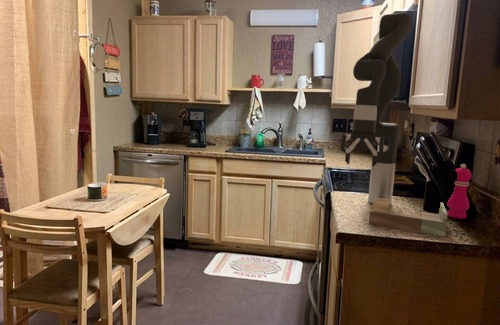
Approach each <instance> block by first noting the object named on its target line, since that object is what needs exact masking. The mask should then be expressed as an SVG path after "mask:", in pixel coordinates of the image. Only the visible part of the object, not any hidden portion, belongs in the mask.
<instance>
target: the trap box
mask: <svg viewBox="0 0 500 325" xmlns="http://www.w3.org/2000/svg"><path fill="white" fill-rule="evenodd" d="M398 210H399V211H398V212H394V211H388V213H382V212H375V211H373V209H372V210H370V212H369V218H368V225H369V226H376V227H382V228H389V229H395V230H396V229H397V230H403V231H409V232H413V233H421V234H428V235H434V236H441V237H446V232H447V224H448V222H447V221H448V214H447V213H448V210H446V208H445V206H444V203H443V202H440V208H438V213H432V212H424V211H419V212H420V213H419V215H416V214H415V215H414V214H408V213H403V209H402V208H399V209H398Z"/></svg>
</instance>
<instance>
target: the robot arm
mask: <svg viewBox="0 0 500 325" xmlns="http://www.w3.org/2000/svg"><path fill="white" fill-rule="evenodd" d="M378 26H379V27H378V40H377V41H376V42H375V43H374V44H373V45H372V47H371V48H370V50H369V51H368V52H367V53H365V54H364V55H362V57H360V58H359V59H358V60H357V61H356V62H355V64H354V66H353V69H352V71H353V72H352V73H353V77H354V79H355V80H357V81H359V82H371V83H369V85H368V86H365V87H360V88H359V89H358V90H357V91H356V97H355V107H354V112H353V120H352V121H353V123H352V133H351V134H347V133H346V134H345V133H344V134H343V135H342V138H341V145H340V151H341V152H343V153H345V159H344V162H345V163H346V165H350V163H351V162H350V161H351V152H352V151H353V150H354V148H358V149H360V148H363V149H369V150H370V152H371V153H372V156H371V164H370V166H371V167H370V179H369V189H368V195H367V197H368V199H367V202H368V203H370V204H373V201H374V198H381V199H388V200H390V201H389V206H391V205H392V199H393V190H394V182H395V181H394V180H395V171H396V170H395V169H396V162H397V161H396V160H397V152H398V151H397V150H398V145H399V139H400V133H401V132H400V125H399V124H397V123H391V122H382V118H383V115H384V113H385V112H386V109H388V107H389V106H390V104H391V103H392V102H393V101H394V99H395V98H396V97H397V95H398V93H399V92H400V90H401V80H402V72H401V69H400V67H399V65H398V63H397V61H396V60H395V58H394V56H393V54H392V53H393V52H394V51H395V49H396V48H397V47H398V46H400V45H401V43H402V42H403V41H404V40H406V38H407V37H408V35H410V33H411V29H412V15H410V13H408V12H397V13H396V12H395V13H387V14H383V15H382V16H381V18H380V20H379V25H378ZM349 139H350V141H351V142H352V144H350V146H349V147H348V148H346V145H347V142H348V141H349ZM374 145H375V146H379V150H376V148H375V146H374ZM384 147H387V149H384Z"/></svg>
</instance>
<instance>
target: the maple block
mask: <svg viewBox="0 0 500 325" xmlns="http://www.w3.org/2000/svg"><path fill="white" fill-rule="evenodd" d="M389 201H390V200H388V199H381V198H374V201H373V203H372V210H373V211H375V212H382V213H388V212H390V211H389V209H390V205H389Z"/></svg>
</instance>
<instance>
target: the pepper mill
mask: <svg viewBox="0 0 500 325" xmlns="http://www.w3.org/2000/svg"><path fill="white" fill-rule="evenodd" d="M455 170H456V172H457V174H458V175H457V181H455V183H454V184H455V187H454V192H453V194H452V195H451V197H450V198H449V200H448V202H447V206H448V207H449V209H450V210H447V214H448V215H447V217H451V218H455V219H460V220H462V219H466V218H467V211H468V210H469V209H470V201H469V199H468V195H467V188H468V187H469V183H470V182H469V181H471V179H472V172H471V171H470V170H469V168H467V165H466V164H465V163H461V164H460V167H458V168H456V169H455Z"/></svg>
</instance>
